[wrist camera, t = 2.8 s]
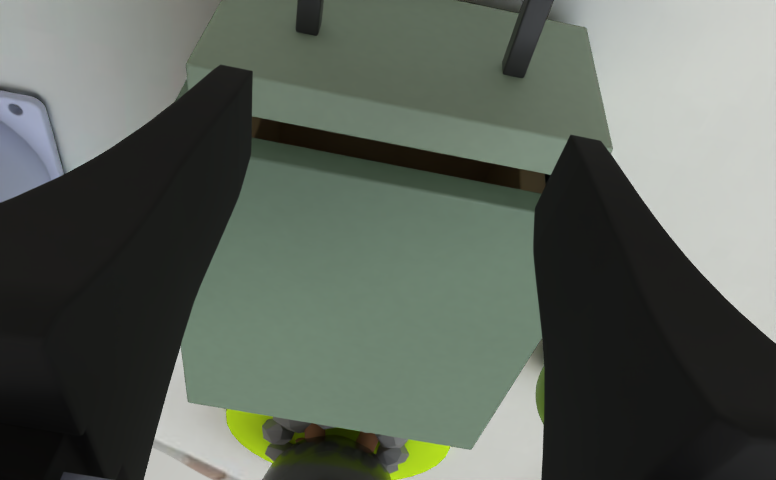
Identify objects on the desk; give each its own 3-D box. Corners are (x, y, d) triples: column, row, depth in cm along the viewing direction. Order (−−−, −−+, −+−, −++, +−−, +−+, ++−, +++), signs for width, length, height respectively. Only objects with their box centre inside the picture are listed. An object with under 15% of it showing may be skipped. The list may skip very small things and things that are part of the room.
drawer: (246, -238, 15) (167, -162, 12) (661, -143, 16) (720, -41, 12) (243, 236, 28) (206, 349, 24) (476, 279, 29) (475, 395, 25)
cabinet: (233, -10, 21) (153, 138, 16) (581, 62, 21) (613, 227, 16) (235, 259, 31) (187, 403, 26) (472, 302, 31) (471, 450, 26)
